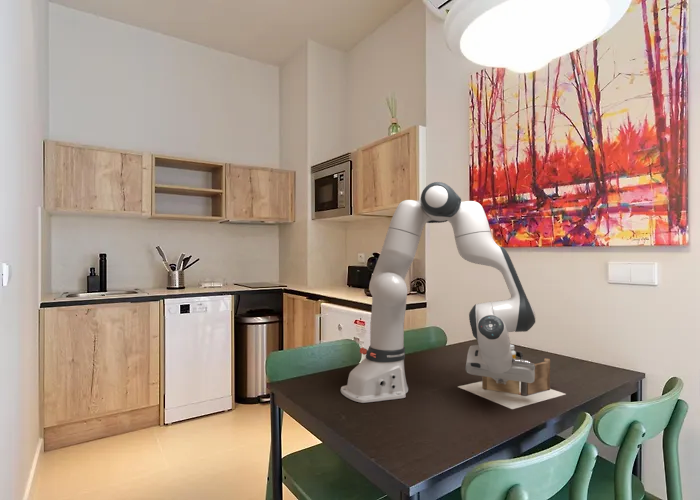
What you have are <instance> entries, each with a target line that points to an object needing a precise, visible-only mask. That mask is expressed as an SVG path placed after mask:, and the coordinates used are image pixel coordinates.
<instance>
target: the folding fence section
mask: <svg viewBox="0 0 700 500" xmlns="http://www.w3.org/2000/svg"><path fill="white" fill-rule="evenodd" d="M481 379H482V380H481V381H482V388H483V389H489V390H496V391H502V392H509V393H516V394H519V388H520V381H513V380H508V381H507V382H506V384H500V383H496V381H495V380H494V379H493V378H492V377H486V376H481Z"/></svg>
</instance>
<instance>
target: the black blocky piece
mask: <svg viewBox="0 0 700 500" xmlns="http://www.w3.org/2000/svg"><path fill="white" fill-rule="evenodd" d="M514 351H515V352H516V359H522V360H524V359H523V358H524V357H523V356H524V354H523V350H517V349H514Z"/></svg>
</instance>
